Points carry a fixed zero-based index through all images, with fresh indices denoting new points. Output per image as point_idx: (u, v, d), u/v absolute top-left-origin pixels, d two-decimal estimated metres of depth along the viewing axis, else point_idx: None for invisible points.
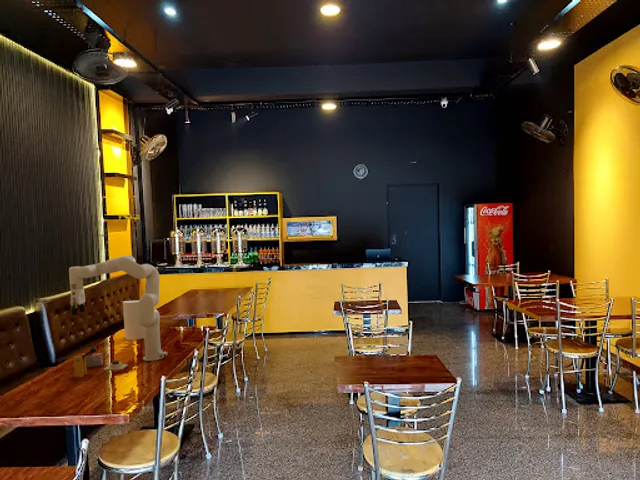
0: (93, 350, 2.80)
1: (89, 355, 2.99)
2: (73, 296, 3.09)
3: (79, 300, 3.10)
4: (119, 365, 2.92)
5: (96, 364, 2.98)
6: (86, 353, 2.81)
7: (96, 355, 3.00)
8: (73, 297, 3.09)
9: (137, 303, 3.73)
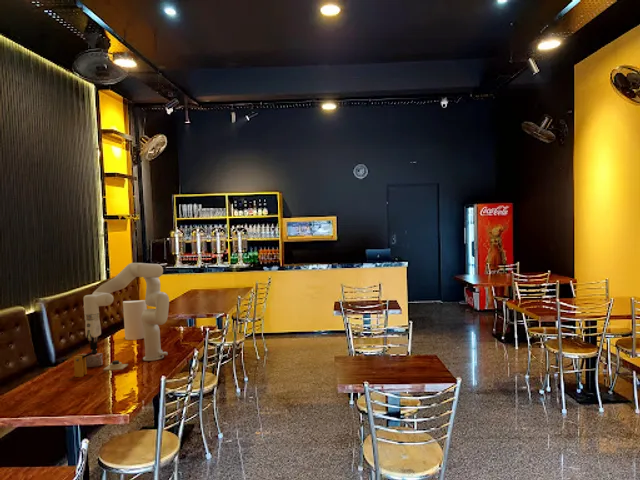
0: (94, 352, 2.80)
1: (89, 355, 2.99)
2: (88, 328, 2.76)
3: (95, 333, 2.77)
4: (119, 365, 2.92)
5: (96, 364, 2.98)
6: (87, 354, 2.81)
7: (96, 355, 3.00)
8: (88, 329, 2.76)
9: (137, 303, 3.73)
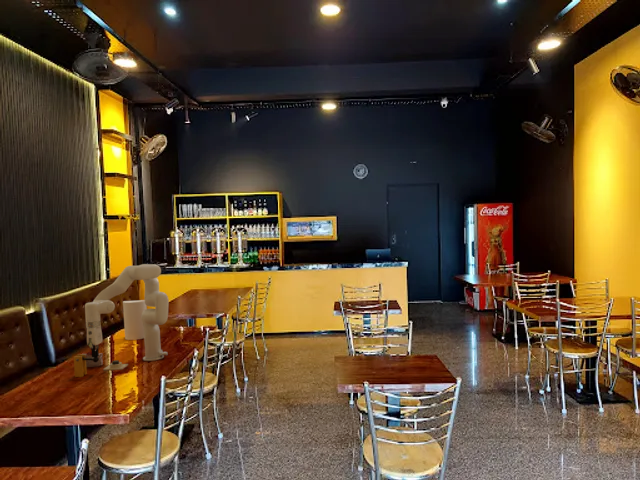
0: (96, 360, 2.80)
1: (89, 355, 2.99)
2: (89, 336, 2.76)
3: (96, 340, 2.78)
4: (119, 365, 2.92)
5: (96, 364, 2.98)
6: (88, 358, 2.81)
7: None
8: (89, 337, 2.76)
9: (137, 303, 3.73)
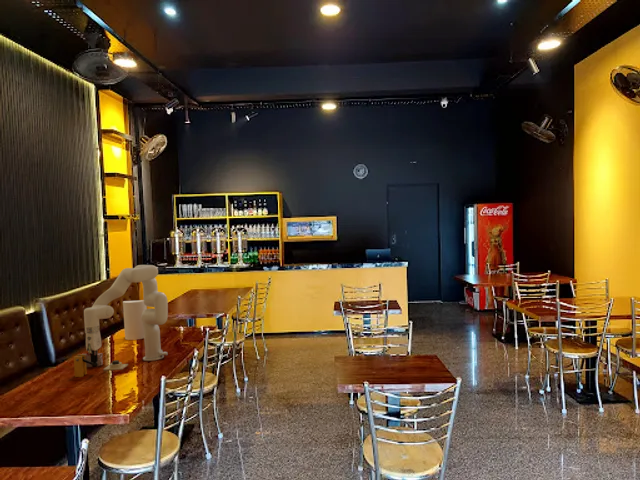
0: (94, 366, 2.80)
1: (89, 355, 2.99)
2: (88, 341, 2.76)
3: (95, 346, 2.78)
4: (119, 365, 2.92)
5: None
6: (88, 361, 2.81)
7: None
8: (88, 342, 2.76)
9: (137, 303, 3.73)
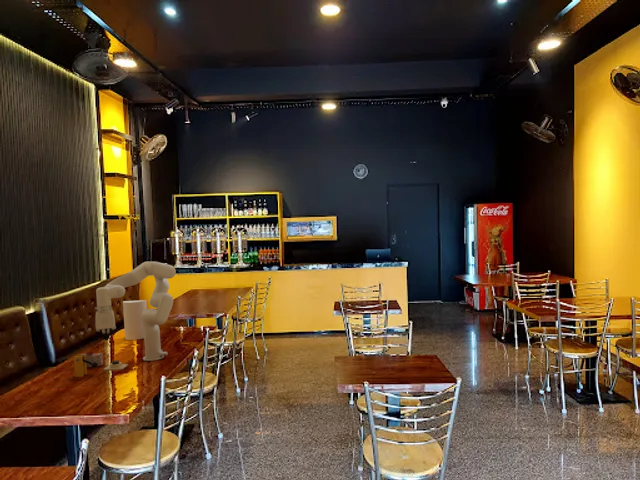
0: (94, 366, 2.80)
1: (89, 355, 2.99)
2: None
3: (98, 324, 2.85)
4: (119, 365, 2.92)
5: None
6: (88, 361, 2.81)
7: (96, 355, 3.00)
8: None
9: (137, 303, 3.73)
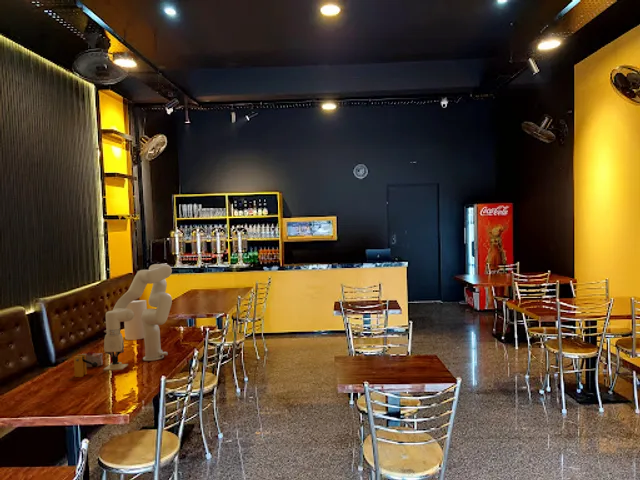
0: (94, 366, 2.80)
1: (89, 355, 2.99)
2: None
3: (106, 347, 2.90)
4: (119, 365, 2.92)
5: None
6: (88, 361, 2.81)
7: (96, 355, 3.00)
8: None
9: (137, 303, 3.73)
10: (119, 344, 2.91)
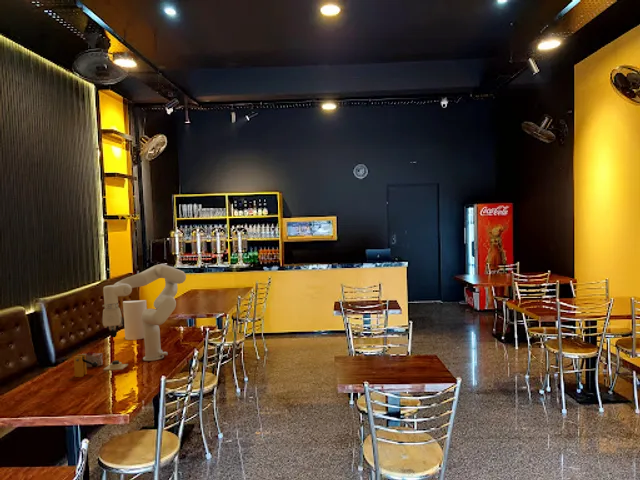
0: (94, 366, 2.80)
1: (89, 355, 2.99)
2: None
3: (105, 321, 2.93)
4: (119, 365, 2.92)
5: None
6: (88, 361, 2.81)
7: (96, 355, 3.00)
8: None
9: (137, 303, 3.73)
10: (117, 318, 2.94)
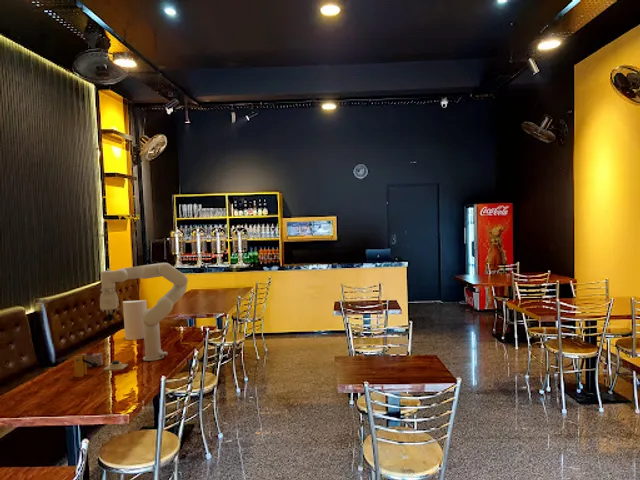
0: (94, 366, 2.80)
1: (89, 355, 2.99)
2: None
3: (102, 305, 3.04)
4: (119, 365, 2.92)
5: None
6: (88, 361, 2.81)
7: (96, 355, 3.00)
8: None
9: (137, 303, 3.73)
10: (114, 302, 3.04)
